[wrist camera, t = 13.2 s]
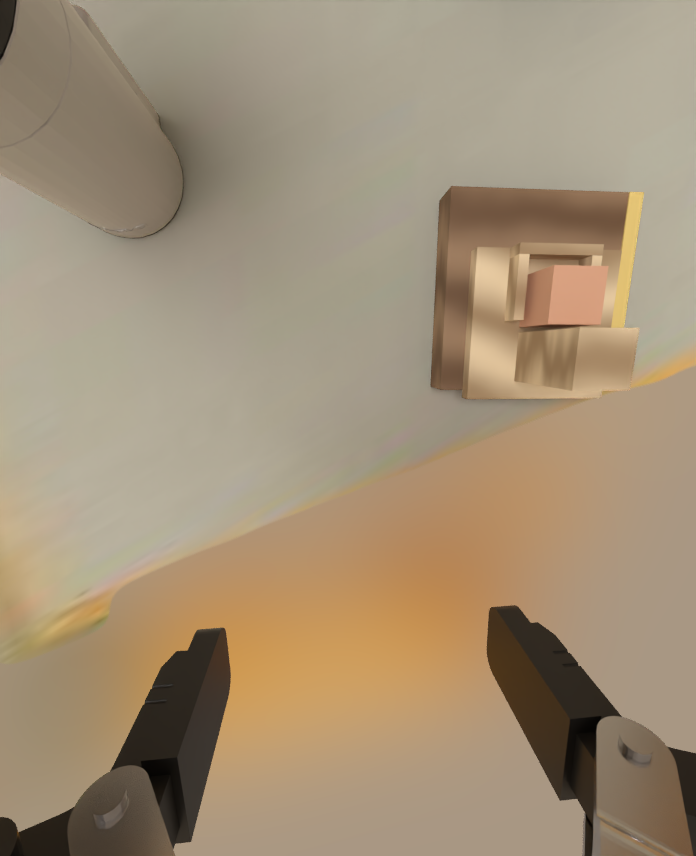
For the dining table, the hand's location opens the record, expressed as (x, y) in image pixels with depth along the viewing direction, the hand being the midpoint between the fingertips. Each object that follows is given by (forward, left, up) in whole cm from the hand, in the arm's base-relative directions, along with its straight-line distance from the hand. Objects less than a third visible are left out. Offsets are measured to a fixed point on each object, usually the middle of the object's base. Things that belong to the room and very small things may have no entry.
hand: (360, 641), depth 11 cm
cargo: (-12, +17, -21) cm, 30 cm away
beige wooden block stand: (-10, +17, -22) cm, 30 cm away
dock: (-13, +17, -25) cm, 33 cm away
